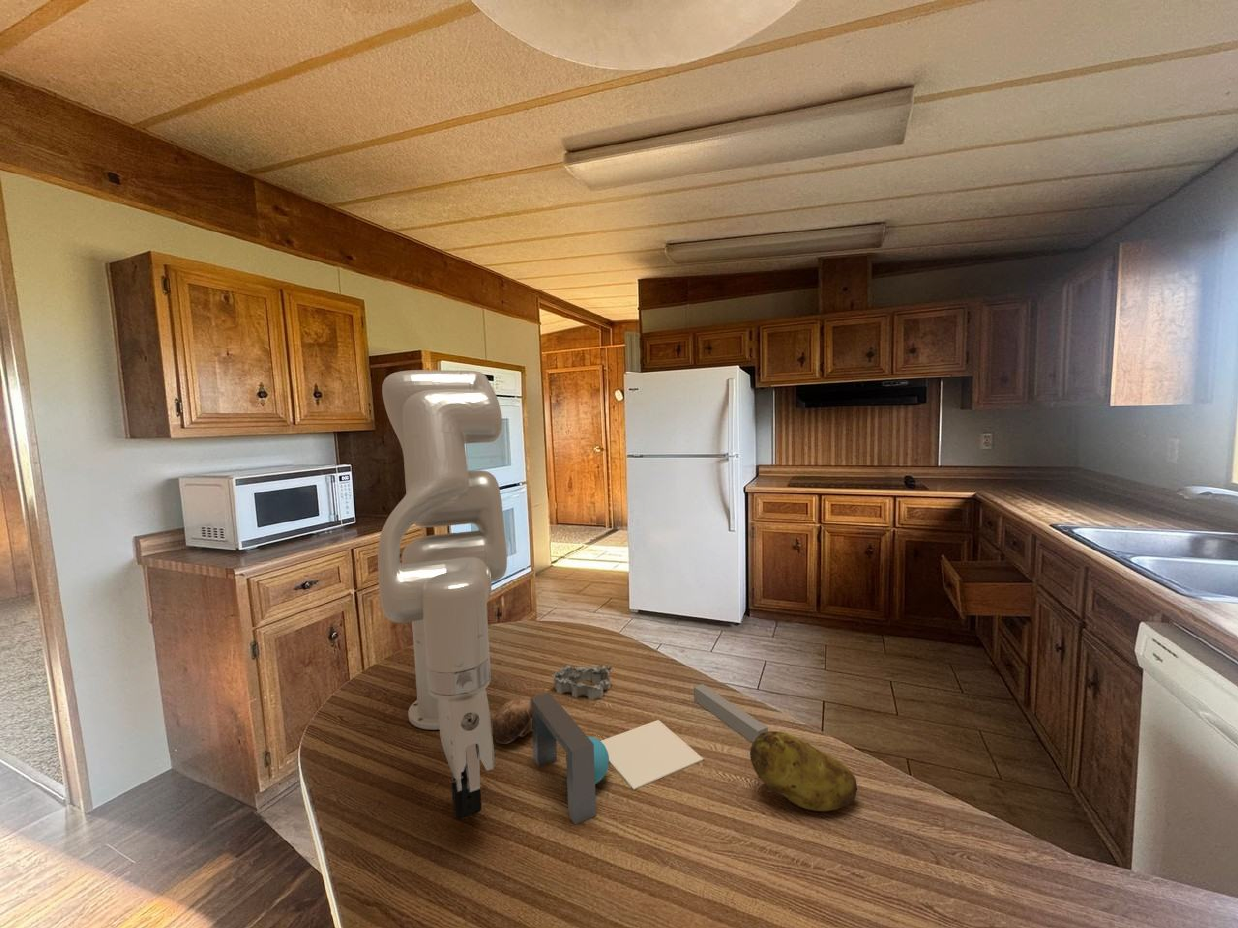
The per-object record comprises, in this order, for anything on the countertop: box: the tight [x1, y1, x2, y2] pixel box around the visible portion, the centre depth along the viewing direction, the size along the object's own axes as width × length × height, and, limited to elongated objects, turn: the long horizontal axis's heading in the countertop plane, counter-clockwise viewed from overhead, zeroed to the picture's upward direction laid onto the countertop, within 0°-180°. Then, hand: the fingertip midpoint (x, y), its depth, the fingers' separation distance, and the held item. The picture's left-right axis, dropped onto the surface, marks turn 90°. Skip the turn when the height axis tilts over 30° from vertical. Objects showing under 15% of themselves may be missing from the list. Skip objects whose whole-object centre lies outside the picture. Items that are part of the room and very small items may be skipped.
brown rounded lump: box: [492, 697, 532, 745], centre depth 85 cm, size 8×8×6 cm
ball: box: [587, 736, 610, 785], centre depth 74 cm, size 6×6×6 cm
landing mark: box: [600, 719, 704, 790], centre depth 80 cm, size 12×12×1 cm
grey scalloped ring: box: [551, 664, 613, 701], centre depth 100 cm, size 10×7×4 cm
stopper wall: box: [693, 683, 769, 744], centre depth 88 cm, size 16×2×2 cm, turn 29°
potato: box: [749, 730, 858, 812], centre depth 69 cm, size 8×13×8 cm, turn 58°
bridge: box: [530, 692, 597, 826], centre depth 73 cm, size 3×15×10 cm, turn 29°
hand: (467, 811), depth 67 cm, fingers closed
